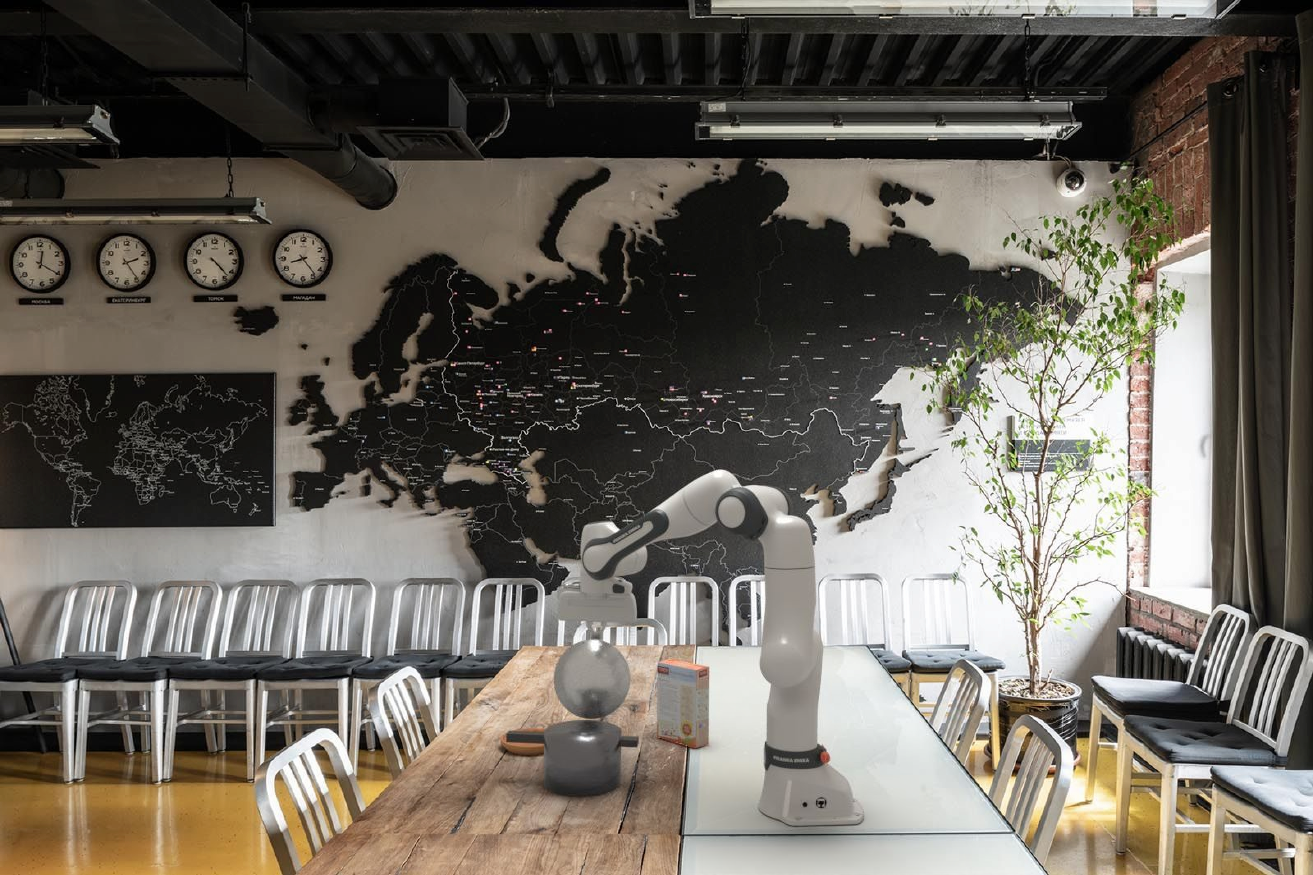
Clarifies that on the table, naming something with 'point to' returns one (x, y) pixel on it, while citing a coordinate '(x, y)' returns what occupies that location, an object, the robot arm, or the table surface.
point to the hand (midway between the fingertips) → (596, 639)
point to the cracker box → (683, 703)
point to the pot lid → (592, 679)
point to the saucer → (523, 744)
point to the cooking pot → (579, 756)
